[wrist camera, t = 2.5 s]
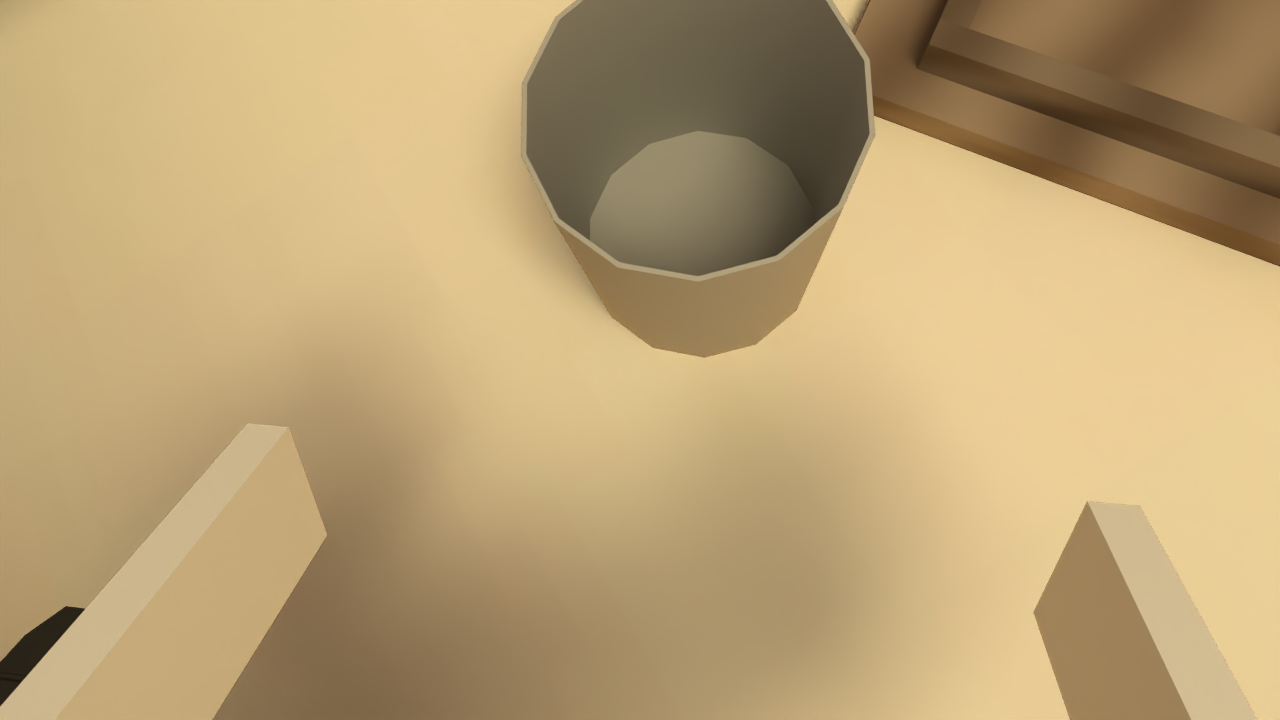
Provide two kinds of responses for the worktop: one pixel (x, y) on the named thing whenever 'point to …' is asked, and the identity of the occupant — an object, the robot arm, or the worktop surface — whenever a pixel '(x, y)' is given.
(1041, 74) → the brown wooden tray
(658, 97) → the cup
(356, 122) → the worktop surface
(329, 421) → the worktop surface
